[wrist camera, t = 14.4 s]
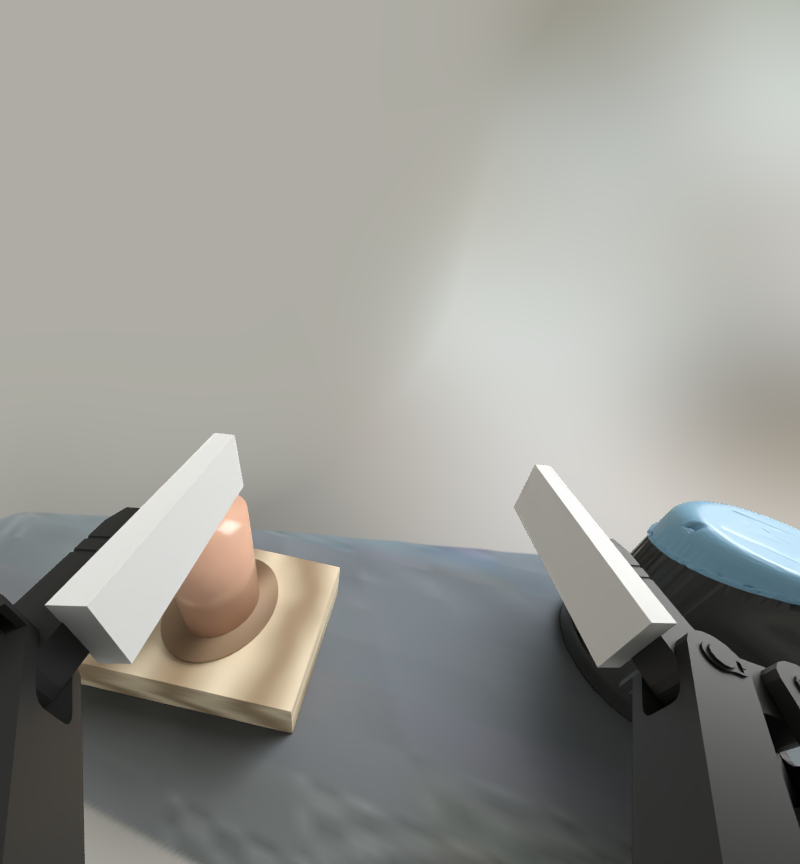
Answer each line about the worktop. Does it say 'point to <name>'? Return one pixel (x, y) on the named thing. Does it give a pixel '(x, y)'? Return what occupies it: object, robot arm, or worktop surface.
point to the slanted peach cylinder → (222, 578)
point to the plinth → (236, 651)
